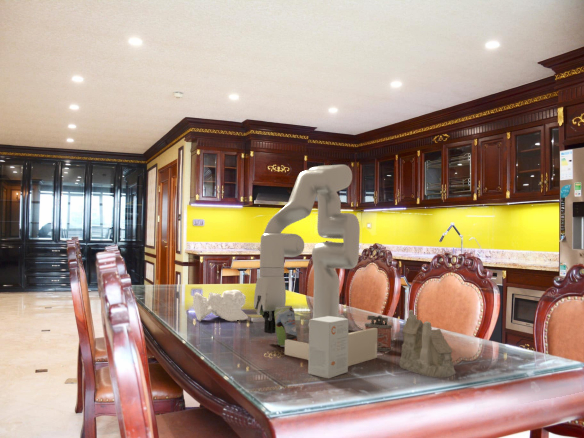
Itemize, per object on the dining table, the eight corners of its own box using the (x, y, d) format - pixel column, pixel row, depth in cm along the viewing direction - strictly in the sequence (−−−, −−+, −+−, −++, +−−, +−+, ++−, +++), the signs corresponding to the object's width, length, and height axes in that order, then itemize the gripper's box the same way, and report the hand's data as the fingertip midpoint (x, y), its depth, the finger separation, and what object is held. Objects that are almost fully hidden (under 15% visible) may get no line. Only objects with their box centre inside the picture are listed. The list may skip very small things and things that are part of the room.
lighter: (392, 349, 147) (392, 315, 147) (390, 351, 144) (391, 317, 144) (365, 346, 150) (366, 313, 150) (363, 349, 146) (363, 315, 147)
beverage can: (295, 349, 143) (296, 307, 144) (270, 347, 145) (272, 306, 145) (299, 345, 149) (300, 305, 150) (275, 343, 151) (277, 304, 151)
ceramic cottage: (428, 378, 116) (431, 313, 117) (387, 364, 130) (390, 307, 132) (478, 376, 122) (480, 315, 124) (433, 363, 137) (435, 309, 138)
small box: (327, 367, 123) (328, 315, 124) (348, 372, 119) (349, 318, 120) (307, 373, 117) (308, 318, 117) (328, 379, 113) (330, 322, 113)
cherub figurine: (190, 291, 196) (238, 285, 205) (193, 322, 196) (240, 315, 205) (198, 294, 185) (248, 287, 193) (201, 327, 184) (251, 319, 193)
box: (320, 346, 148) (321, 319, 149) (376, 357, 136) (377, 328, 136) (284, 354, 136) (285, 325, 136) (342, 367, 123) (343, 335, 124)
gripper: (279, 271, 160) (277, 328, 159) (245, 273, 149) (243, 333, 148) (296, 273, 155) (294, 331, 154) (263, 274, 144) (261, 337, 143)
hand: (269, 332), depth 151 cm, fingers closed
